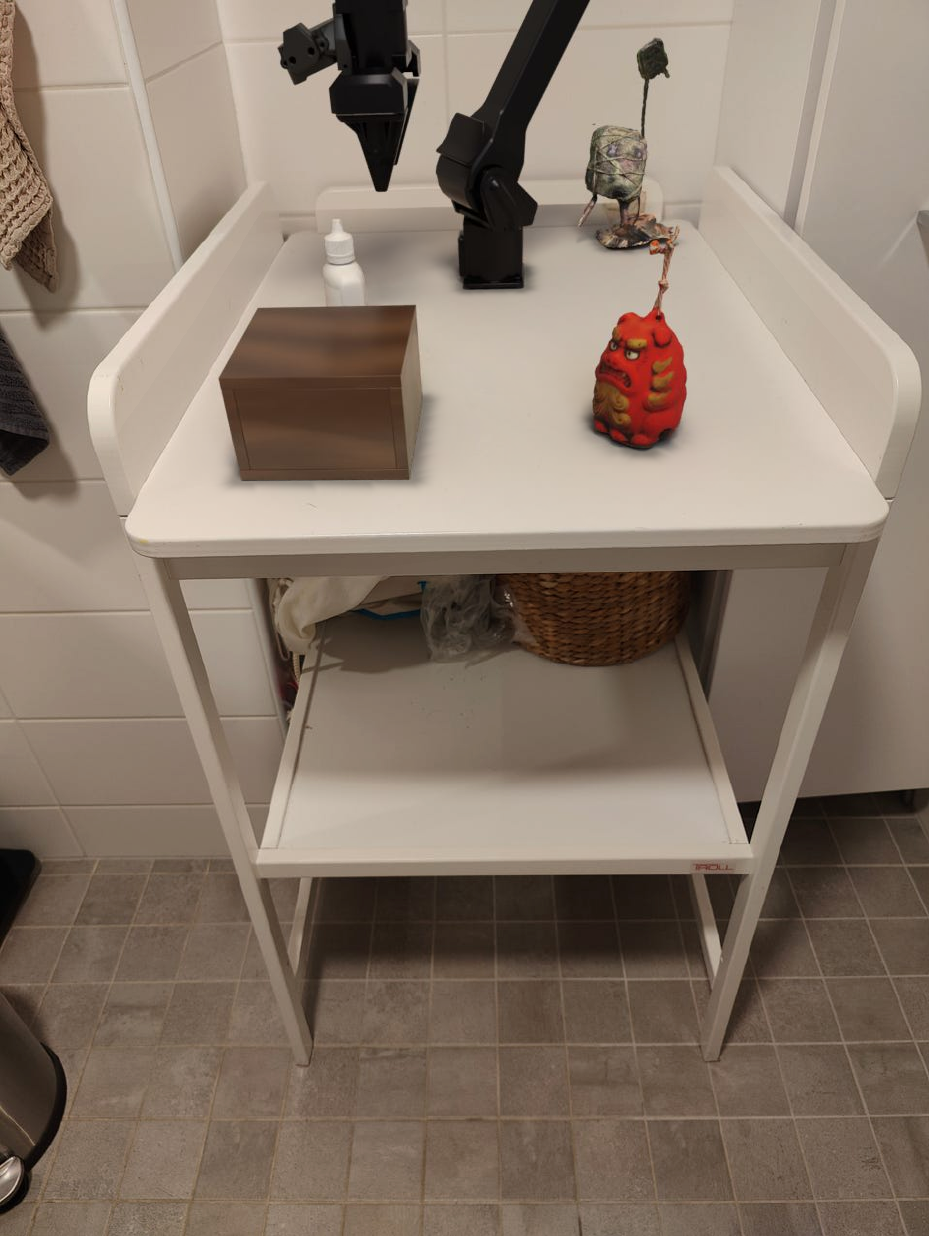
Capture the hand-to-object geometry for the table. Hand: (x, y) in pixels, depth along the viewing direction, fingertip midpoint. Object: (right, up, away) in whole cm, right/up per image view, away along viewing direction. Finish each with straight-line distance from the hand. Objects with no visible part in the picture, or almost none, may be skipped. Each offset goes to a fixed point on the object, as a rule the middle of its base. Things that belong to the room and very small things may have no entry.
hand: (387, 177), depth 88 cm
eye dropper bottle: (-3, -18, -2) cm, 18 cm away
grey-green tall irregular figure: (+26, +2, +20) cm, 33 cm away
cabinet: (-3, -28, -14) cm, 31 cm away
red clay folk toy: (+21, -27, -15) cm, 38 cm away
